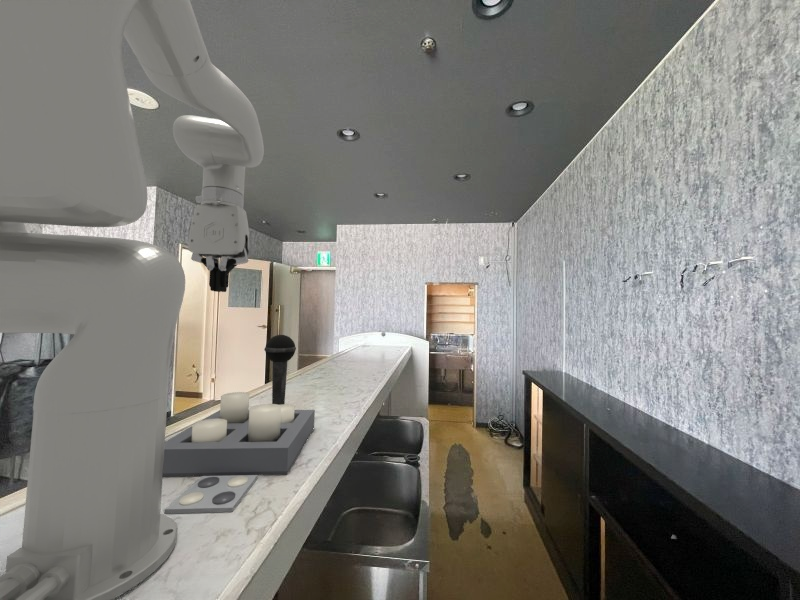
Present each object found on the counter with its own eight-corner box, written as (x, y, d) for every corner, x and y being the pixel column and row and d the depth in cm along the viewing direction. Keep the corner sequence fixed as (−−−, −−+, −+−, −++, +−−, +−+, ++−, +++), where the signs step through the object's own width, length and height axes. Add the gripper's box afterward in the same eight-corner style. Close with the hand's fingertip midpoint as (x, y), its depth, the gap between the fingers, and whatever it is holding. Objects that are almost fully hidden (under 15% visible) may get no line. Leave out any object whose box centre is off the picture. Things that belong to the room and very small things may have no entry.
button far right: (289, 438, 59) (290, 411, 60) (262, 438, 59) (263, 411, 59) (296, 428, 64) (297, 404, 64) (271, 429, 64) (272, 404, 64)
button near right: (274, 443, 50) (275, 412, 51) (242, 443, 50) (244, 412, 50) (283, 432, 55) (284, 403, 56) (255, 432, 55) (256, 403, 55)
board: (287, 474, 47) (288, 447, 48) (149, 477, 46) (151, 449, 46) (314, 428, 67) (314, 409, 68) (218, 429, 66) (219, 410, 66)
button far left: (241, 425, 59) (242, 398, 59) (214, 425, 58) (215, 398, 59) (252, 416, 64) (253, 392, 64) (227, 416, 63) (228, 392, 64)
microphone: (271, 430, 66) (275, 335, 67) (255, 423, 70) (259, 334, 71) (299, 422, 71) (302, 334, 73) (282, 416, 75) (285, 333, 77)
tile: (232, 511, 38) (232, 505, 38) (164, 513, 38) (164, 507, 38) (257, 478, 46) (257, 473, 46) (201, 479, 46) (202, 474, 46)
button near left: (216, 460, 50) (217, 428, 50) (183, 460, 49) (185, 428, 50) (231, 447, 55) (232, 418, 55) (201, 447, 54) (203, 418, 55)
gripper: (173, 193, 60) (167, 288, 59) (253, 197, 61) (248, 290, 60) (196, 207, 67) (191, 292, 66) (266, 210, 68) (263, 293, 67)
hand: (218, 291), depth 63 cm, fingers closed
